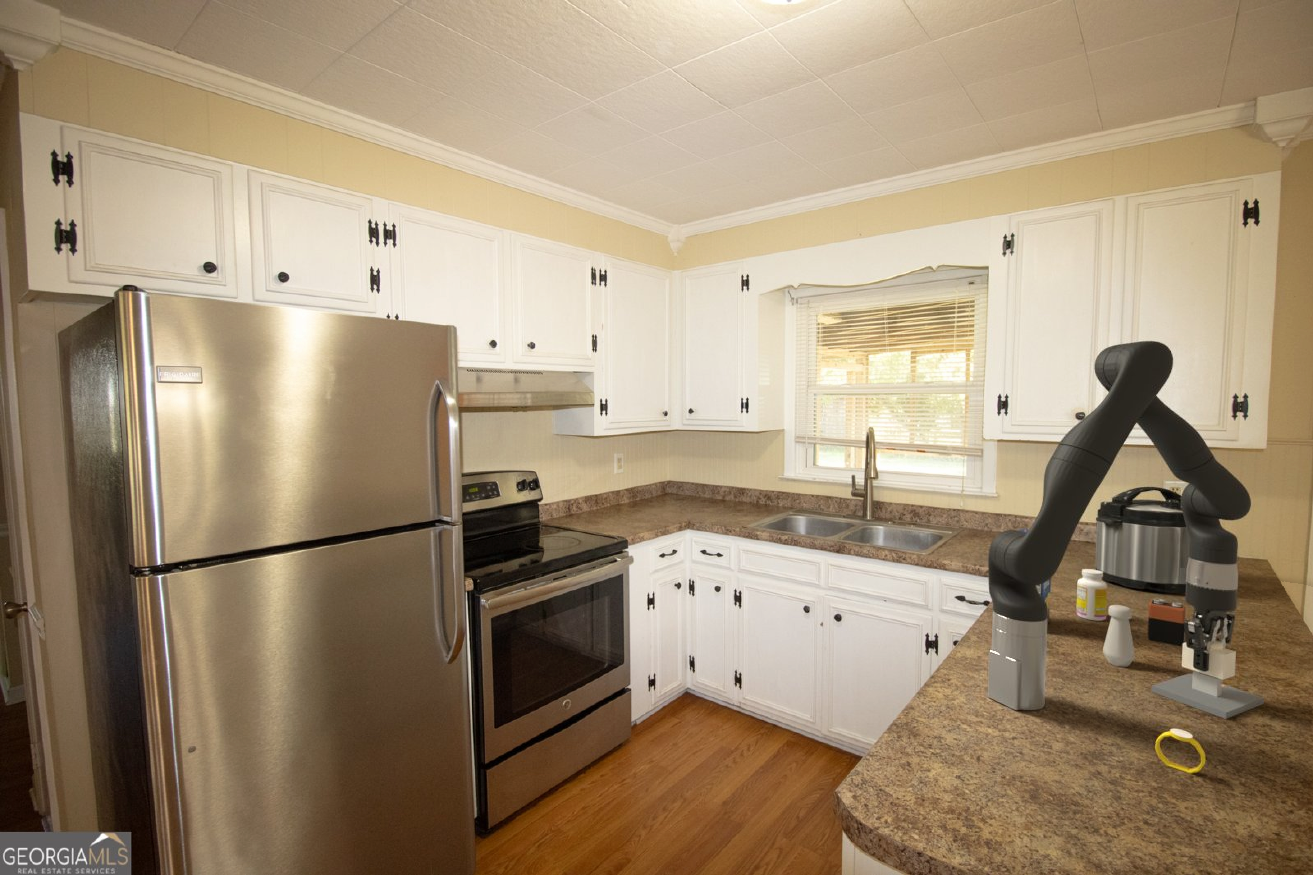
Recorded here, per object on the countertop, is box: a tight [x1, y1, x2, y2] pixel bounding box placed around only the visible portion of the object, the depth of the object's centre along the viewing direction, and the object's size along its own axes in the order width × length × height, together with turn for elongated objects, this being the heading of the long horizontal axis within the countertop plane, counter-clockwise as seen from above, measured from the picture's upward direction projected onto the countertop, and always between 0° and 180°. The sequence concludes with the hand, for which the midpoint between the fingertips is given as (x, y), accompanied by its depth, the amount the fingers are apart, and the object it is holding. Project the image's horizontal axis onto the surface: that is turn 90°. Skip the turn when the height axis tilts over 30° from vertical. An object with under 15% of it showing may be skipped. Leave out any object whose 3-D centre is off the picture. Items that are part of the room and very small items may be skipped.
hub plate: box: [1150, 670, 1265, 720], centre depth 121 cm, size 14×12×5 cm
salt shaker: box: [1102, 604, 1136, 668], centre depth 137 cm, size 6×6×13 cm
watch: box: [1154, 728, 1206, 775], centre depth 98 cm, size 6×3×6 cm, turn 41°
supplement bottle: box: [1076, 568, 1108, 622], centre depth 167 cm, size 7×7×13 cm
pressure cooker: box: [1094, 486, 1190, 594], centre depth 199 cm, size 30×28×32 cm
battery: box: [1147, 597, 1187, 647], centre depth 150 cm, size 4×7×10 cm, turn 48°
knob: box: [1181, 638, 1237, 681], centre depth 121 cm, size 4×7×6 cm
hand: (1207, 667), depth 121 cm, fingers closed on knob, 4 cm apart
